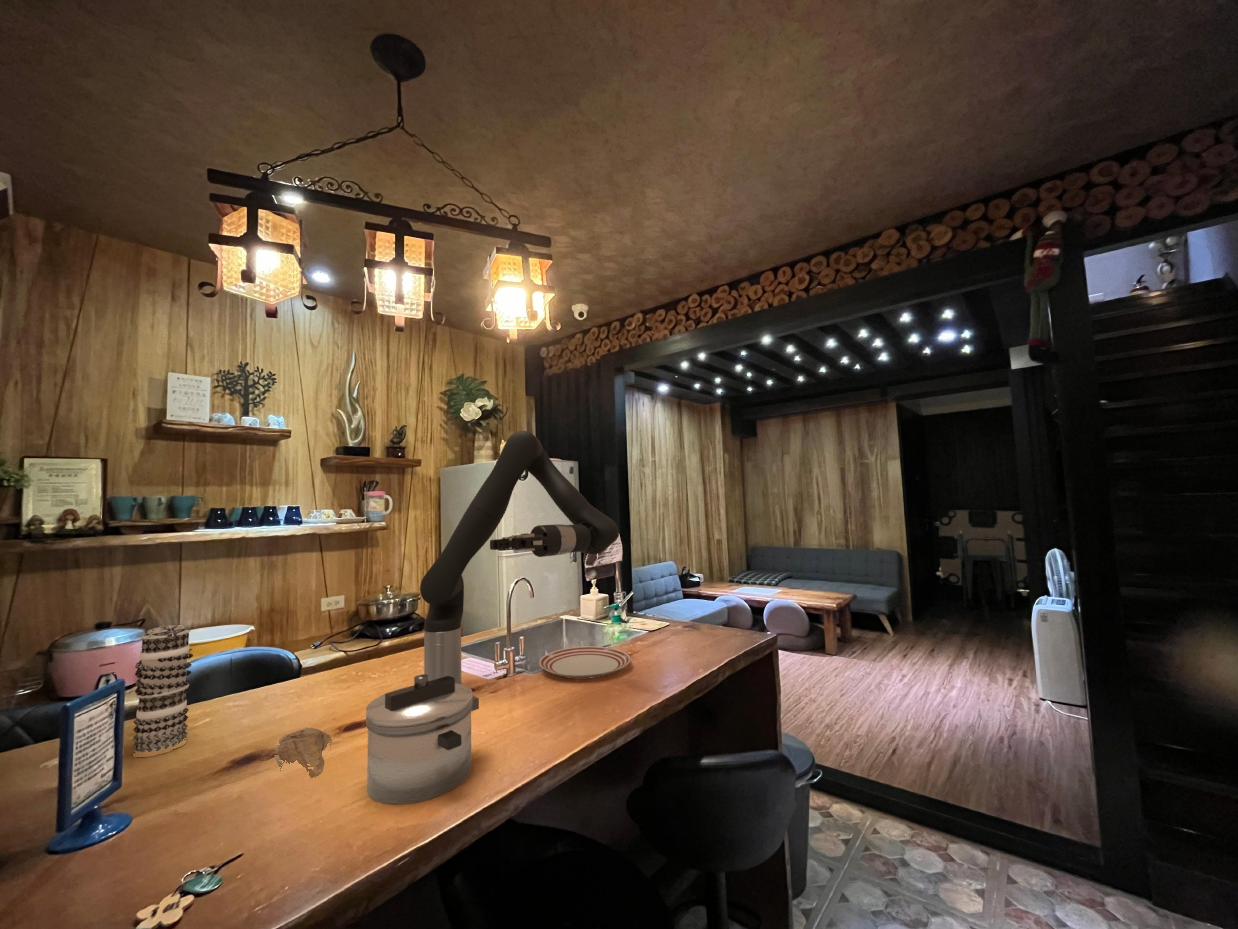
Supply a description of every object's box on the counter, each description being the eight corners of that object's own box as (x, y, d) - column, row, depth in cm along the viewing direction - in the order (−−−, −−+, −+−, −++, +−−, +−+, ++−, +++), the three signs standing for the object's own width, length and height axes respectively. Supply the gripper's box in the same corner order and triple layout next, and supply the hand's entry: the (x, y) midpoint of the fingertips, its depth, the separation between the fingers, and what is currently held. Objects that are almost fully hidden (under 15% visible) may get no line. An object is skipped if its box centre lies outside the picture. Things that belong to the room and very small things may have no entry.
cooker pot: (376, 757, 98) (377, 694, 99) (478, 741, 104) (477, 681, 105) (352, 822, 77) (353, 740, 78) (481, 797, 83) (480, 721, 84)
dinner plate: (650, 667, 149) (649, 656, 150) (577, 692, 131) (577, 679, 131) (591, 651, 169) (590, 641, 170) (521, 671, 151) (521, 659, 151)
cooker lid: (443, 682, 104) (443, 656, 105) (491, 702, 92) (491, 673, 92) (350, 709, 91) (350, 680, 91) (392, 736, 79) (392, 702, 79)
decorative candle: (197, 735, 112) (202, 620, 114) (175, 754, 103) (181, 629, 105) (146, 743, 109) (152, 624, 111) (119, 762, 100) (127, 633, 102)
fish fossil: (344, 771, 94) (343, 765, 94) (278, 797, 87) (278, 790, 87) (318, 727, 113) (317, 722, 114) (263, 745, 107) (263, 740, 107)
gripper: (536, 524, 127) (475, 527, 115) (570, 524, 118) (508, 527, 106) (536, 554, 127) (475, 561, 114) (571, 556, 118) (509, 563, 105)
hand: (491, 544), depth 110 cm, fingers closed
